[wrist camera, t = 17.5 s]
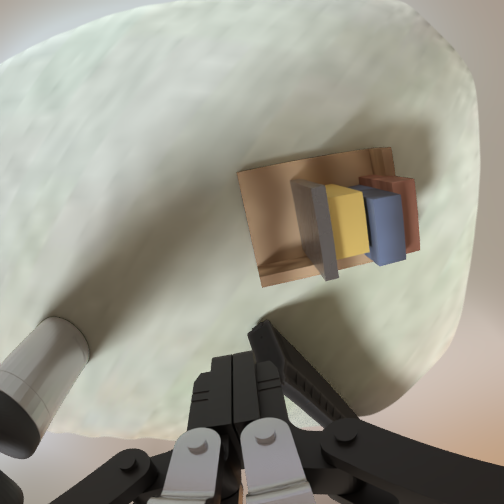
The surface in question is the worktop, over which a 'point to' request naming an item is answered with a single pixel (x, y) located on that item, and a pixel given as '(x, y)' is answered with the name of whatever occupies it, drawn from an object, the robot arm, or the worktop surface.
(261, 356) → the magazine
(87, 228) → the worktop surface
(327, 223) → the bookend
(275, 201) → the shelf
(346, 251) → the book
